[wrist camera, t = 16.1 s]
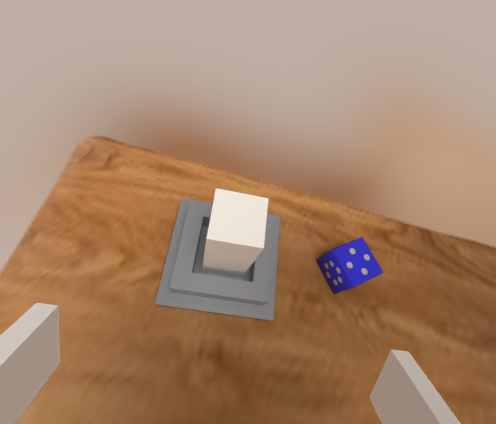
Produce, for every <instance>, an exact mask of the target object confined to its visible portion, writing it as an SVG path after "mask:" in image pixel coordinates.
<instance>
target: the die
mask: <svg viewBox="0 0 496 424" xmlns="http://www.w3.org/2000/svg"><path fill="white" fill-rule="evenodd" d="M317 262H318V264H319V266H320V268H321V270H322V272H323V274H324V276H325V278H326V280H327V282H328V284H329V285H330V287H331V289H332V291H333V293H334V294H336V293H338V292H341V291H344V290H347V289H350V288H353V287H355V286H357V285H359V284H361V283H363V282H365V281H367V280H370V279H372V278H374V277H376V276H378V275H380V274H382V273H383V271H382V269H381V268H380V266H379V264H378V263H377V261H376V259H375V258H374V256H373V254H372V253H371V251H370V249H369V247H368V246H367V244H366V242H365V241H364V239H363V238H362V237H361V238H359V239H356V240H354V241H351V242H349V243H347V244H344V245H342V246H339V247H337V248H335V249H332V250H331V251H329V252H328V253H326V254H325V255H323V256H322V257H320V258H319V259H317Z"/></svg>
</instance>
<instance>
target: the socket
mask: <svg viewBox="0 0 496 424" xmlns="http://www.w3.org/2000/svg"><path fill="white" fill-rule="evenodd" d="M212 207H213V203H208V202H203V201H197V200H192V199H185V198H182V199H181V203H180V207H179V211H178V215H177V219H176V223H175V226H174V230H173V234H172V238H171V242H170V246H169V250H168V254H167V258H166V262H165V266H164V270H163V274H162V278H161V282H160V286H159V290H158V294H157V297H156V301H155V305H159V306H166V307H173V308H180V309H187V310H195V311H202V312H209V313H216V314H223V315H231V316H238V317H245V318H252V319H260V320H267V321H273V320H274V304H275V289H276V273H277V258H278V242H279V227H280V216H276V215H273V214H267V219H266V230H265V241H264V249H263V250H262V252H261V253H260V254H259V255H258V257H257V258H256V259H255V261H254V262H253V263H252V265H251V266H250V267H249V269H248V270H247V271H246V272H245V274H244V275H243V276H242V278H239V277H232V276H226V275H220V274H213V273H207V272H202V265H203V259H204V252H205V245H206V238H207V233H208V228H209V222H210V217H211V212H212Z"/></svg>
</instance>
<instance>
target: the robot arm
mask: <svg viewBox="0 0 496 424" xmlns="http://www.w3.org/2000/svg"><path fill="white" fill-rule="evenodd" d="M59 363H60V340H59V313H58V306H57V305H50V304H42V303H36V304H34V305H33V306H32V307H31V308H30V309H29V310H28V311H27V312H26V313H25V314H24V315H22V316H21V317H20V318H19V319H18V320H17V321H16V322H15V323H14V324H13V325H11V326H10V327H9V328H8V329H7V330H6V331H5V332H4V333H3V334H2V335H1V336H0V424H16V422H17V421H18V420H19V418H20V417H21V415H22V414H23V413H24V411H25V410H26V409H27V407H28V406H29V405H30V403H31V402H32V400H33V399H34V398H35V396H36V395H37V394H38V392H39V391H40V389H41V388H42V387H43V385H44V384H45V383H46V381H47V380H48V379H49V377H50V376H51V374H52V373H53V372H54V370H55V369H56V368H57V366H58V365H59ZM369 398H370V400H371V402H372V404H373V406H374V409H375V411H376V413H377V415H378V417H379V419H380V421H381V424H461V423H460V422H459V421H458V419H457V418H456V416H455V415H454V414H453V412H452V411H451V410H450V408H449V407H448V405H447V404H446V403H445V401H444V400H443V399H442V397H441V396H440V394H439V393H438V392H437V390H436V389H435V387H434V386H433V385H432V383H431V382H430V381H429V379H428V378H427V376H426V375H425V374H424V372H423V371H422V370H421V368H420V367H419V365H418V364H417V363H416V361H415V360H414V359H413V357H412V356H411V354H410V353H409V352H408V351H400V350H393V349H391V351H390V353H389V355H388V357H387V360H386V362H385V364H384V366H383V368H382V370H381V373H380V375H379V377H378V379H377V381H376V384H375V386H374V388H373V390H372V392H371V395H370V397H369Z"/></svg>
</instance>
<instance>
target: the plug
mask: <svg viewBox="0 0 496 424" xmlns="http://www.w3.org/2000/svg"><path fill="white" fill-rule="evenodd" d="M267 208H268V198H263V197H258V196H253V195H248V194H242V193H237V192H232V191H227V190H222V189H216V191H215V196H214V201H213V207H212V212H211V217H210V222H209V228H208V233H207V238H206V245H205V252H204V259H203V265H202V272H207V273H213V274H220V275H226V276H232V277H239V278H242V276H243V275H244V274H245V272H246V271H247V270H248V269H249V267H250V266H251V265H252V263H253V262H254V261H255V259H256V258H257V257H258V255H259V254H260V253H261V252H262V250H263V249H264V241H265V230H266V219H267Z"/></svg>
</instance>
